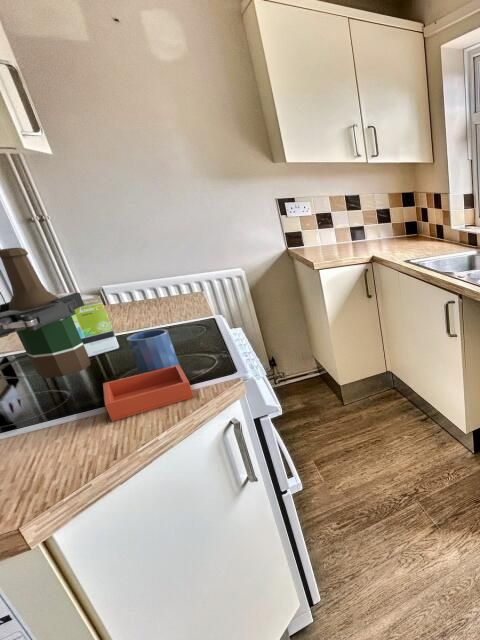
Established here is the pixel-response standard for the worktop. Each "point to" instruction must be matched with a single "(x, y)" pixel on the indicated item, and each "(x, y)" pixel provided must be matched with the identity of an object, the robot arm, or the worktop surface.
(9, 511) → the worktop surface
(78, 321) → the tea box
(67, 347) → the beer bottle
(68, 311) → the robot arm
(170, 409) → the worktop surface
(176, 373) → the red tray
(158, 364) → the blue cup
